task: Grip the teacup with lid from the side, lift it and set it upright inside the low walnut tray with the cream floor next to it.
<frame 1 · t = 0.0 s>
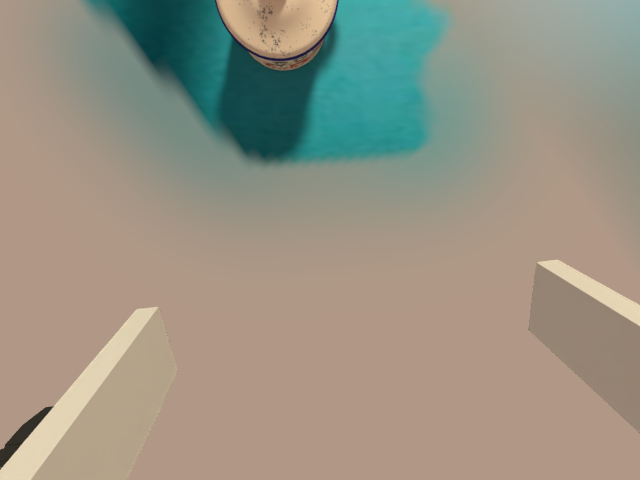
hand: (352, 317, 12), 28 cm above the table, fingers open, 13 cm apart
teacup with lid: (295, 13, 33), on the table
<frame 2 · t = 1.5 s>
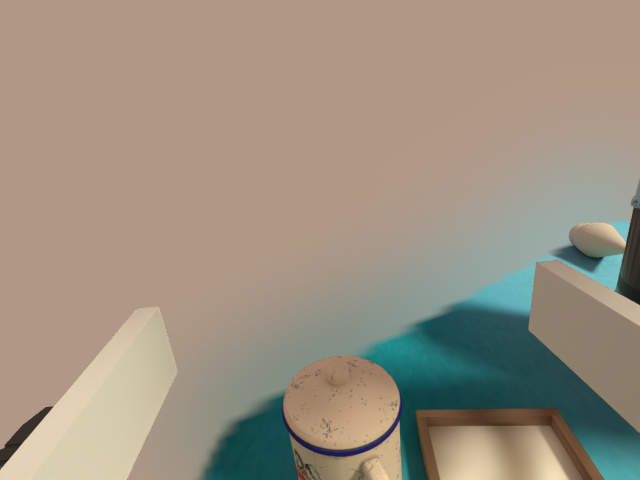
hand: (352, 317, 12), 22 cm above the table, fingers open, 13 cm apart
ice cream cone: (599, 259, 60), on the table
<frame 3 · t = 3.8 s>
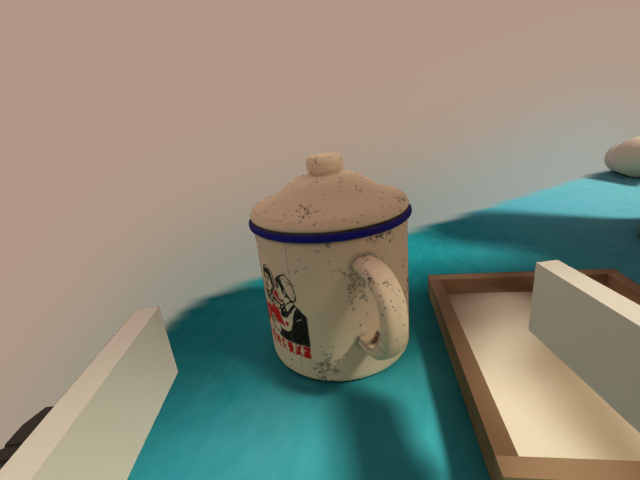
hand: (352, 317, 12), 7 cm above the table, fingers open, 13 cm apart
walnut tray: (573, 360, 19), on the table
teacup with lid: (350, 352, 21), on the table
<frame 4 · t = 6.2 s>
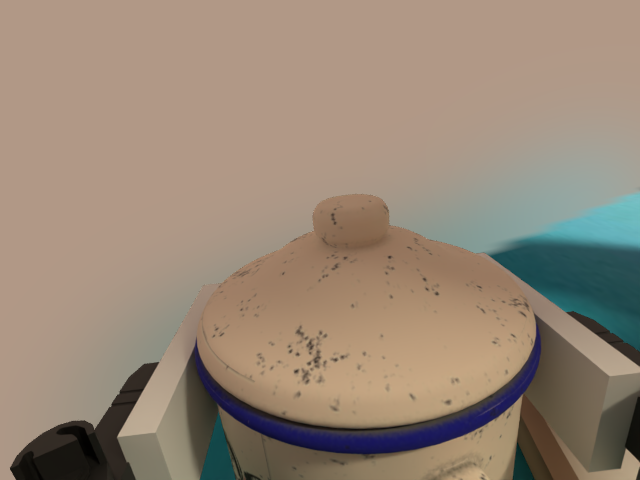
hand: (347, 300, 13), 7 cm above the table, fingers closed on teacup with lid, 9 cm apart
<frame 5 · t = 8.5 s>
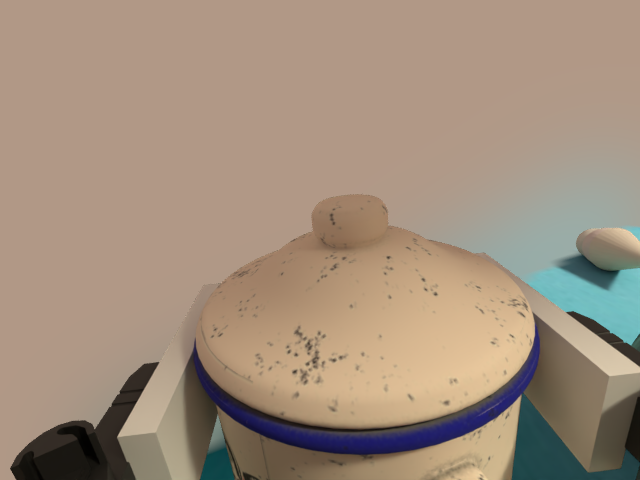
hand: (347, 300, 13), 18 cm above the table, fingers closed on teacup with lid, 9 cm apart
ice cream cone: (614, 273, 49), on the table
when the fingers open (8 cm above the table, at t = 11.1 s): teacup with lid drops 1 cm, resting on walnut tray.
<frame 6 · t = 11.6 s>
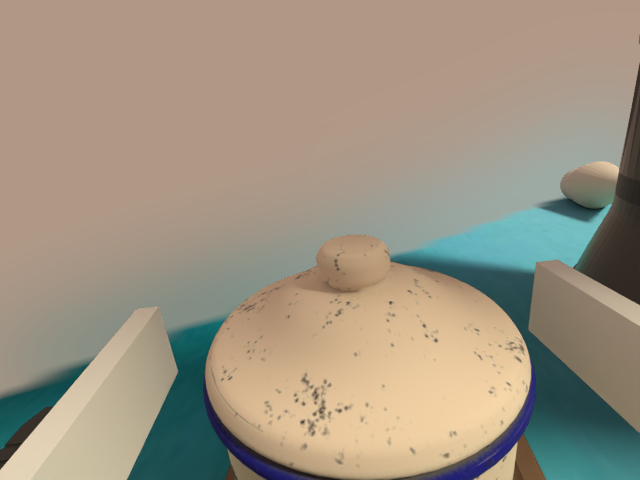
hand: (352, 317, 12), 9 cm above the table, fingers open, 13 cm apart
ice cream cone: (598, 211, 46), on the table
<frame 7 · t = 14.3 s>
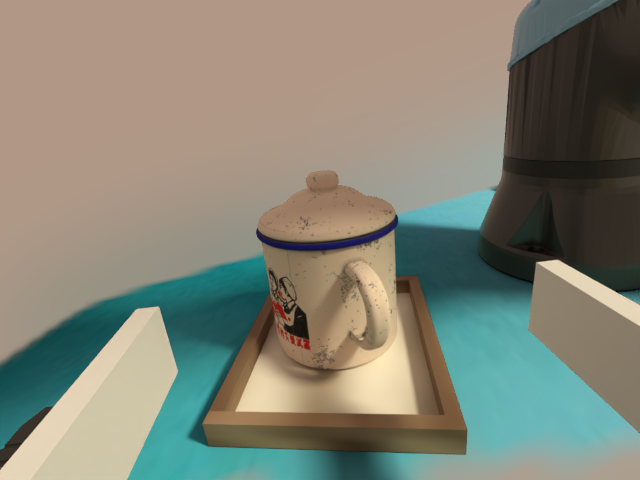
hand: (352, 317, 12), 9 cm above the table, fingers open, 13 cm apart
walnut tray: (340, 348, 24), on the table
teacup with lid: (345, 345, 24), resting on walnut tray
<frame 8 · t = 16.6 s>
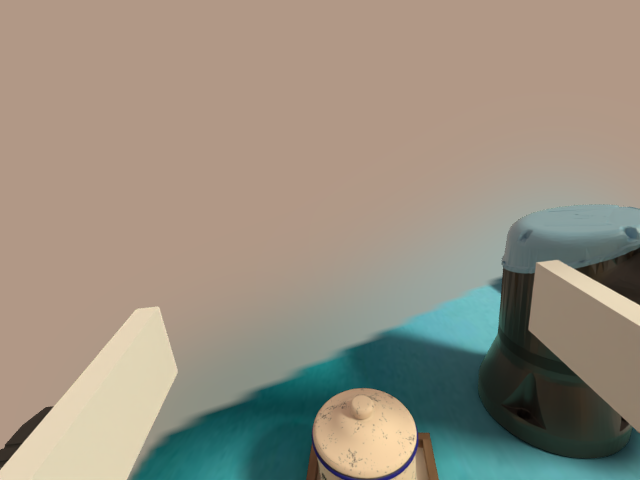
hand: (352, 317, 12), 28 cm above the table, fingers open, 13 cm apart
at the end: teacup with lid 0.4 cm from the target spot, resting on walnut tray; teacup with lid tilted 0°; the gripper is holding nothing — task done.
